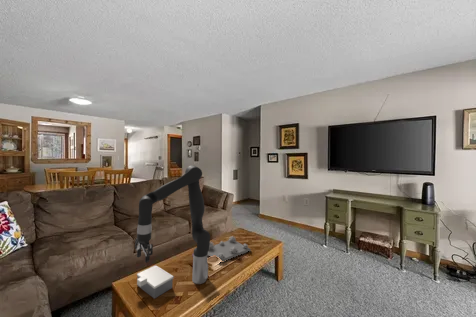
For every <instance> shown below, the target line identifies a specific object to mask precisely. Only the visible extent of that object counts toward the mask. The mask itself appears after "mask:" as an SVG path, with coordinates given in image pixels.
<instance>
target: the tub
mask: <svg viewBox="0 0 476 317" xmlns="http://www.w3.org/2000/svg"><path fill="white" fill-rule="evenodd" d="M137 279H139V277H138V276H137ZM173 280H174V278H173V279H171V280H169V281H167V282H166V283H164V284H162V285H160V286H159V287H157V288H155V289H154V288H153V287H151V286H150V285H149V284H145V285H143V286H141V287H140V286H139V285H137V284H136V285H137V287H139V288H140V289H141V290H142V291H143V292H145V293H146V294H147V295H149V296H150V297H152V298H153V299H154V300H155V299H157V298H158V297H159V296H161V295H163V294H164V293H167V292H168V291H169V290H171V289H172V288H173Z"/></svg>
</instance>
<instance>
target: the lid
mask: <svg viewBox="0 0 476 317" xmlns="http://www.w3.org/2000/svg"><path fill="white" fill-rule="evenodd" d="M136 276H137V279H136V285H139V286H140V287H141V286H143V285H145V284H149V285H150V286H151V287H153V288H154V289H155V288H157V287H159V286H160V285H162V284H164V283H166V282H167V281H169V280H171V279H173V280H174V275H172V274H171V273H169V272H167V271H166V270H164V269H163V268H161V267H160V266H157V265H156V264H155V265H153V266H151V267H148V268H147V269H144V270H143V271H139V272H137V273H136ZM138 277H139V279H138ZM139 286H138V287H139ZM140 287H139V288H140Z"/></svg>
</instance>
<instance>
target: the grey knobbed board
mask: <svg viewBox="0 0 476 317" xmlns="http://www.w3.org/2000/svg"><path fill="white" fill-rule="evenodd" d="M248 245H249V244H247V243H243V244H242V243H240V242H238V241H237V239H236V236H233V235H232V236H229V237H228V240H226V241H223V240H220V242H219V243H217V244H215V243H214V242H213V241H211V240H210V246H209V250H208V257H209V256H213V255H216V256H217V257H219V258H220V259H221V260H222V261H224V262H226V261H225V260H227V261H229V260H232V259H234V258H237V257H239V256H241V254H242V255H244V254H246V253H248V251H249V252H251V250H252V249H251V248H249V246H248ZM238 255H239V256H238ZM236 256H237V257H236ZM233 257H234V258H233ZM231 258H232V259H231ZM228 259H229V260H228Z"/></svg>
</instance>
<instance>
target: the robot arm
mask: <svg viewBox="0 0 476 317" xmlns="http://www.w3.org/2000/svg"><path fill="white" fill-rule="evenodd" d="M202 177H203V171H202V169H201V168H200V167H198V166H197V165H193V164H191V165H188V166H187V168H186V169H185V173H184V174H183V175H182V176H180V177H178V178H176V179H174V180H172V181H168V182H167V183H165V184H163V185H161V186H160V187H157V188H156V189H155V190H153V191H151V192H148V193H147V194H144V195H143V196H142V197H141V198H140V199H139V202H138V218H137V219H138V220H137V229H136V238H135V240H134V249H135V250H136V257H137V258H141V256H142V253H144V256H145V258H144V263H149V262H150V260H151V259H150V258H151V256H153V254H154V253H153V250H154V244H153V243H150V241H151V240H152V229H153V228H152V227H153V226H152V225H153V224H152V222H153V221H152V220H153V218H152V215H153V214H152V212H153V205H154V204H156V203H157V202H158V201H163V200H164V199H166V198H167V197H169V196H171V195H173V194H174V193H175V192H177V191H179V190H181V189H182V188H184V187H186V186H187V188H188V201H189V203H188V204H189V211H190V218H191V236H192V240H193V241H194V242H195V243H196V247H195V248H193V253H192V254H193V257H192V277H191V278H192V279H191V280H192V283H194V284H196V285H201V284H204V283H205V282H206V281H207V279H209V276H208V275H209V263H208V257H209V256H208V250H209V246H210V242H211V235H210V232H209V231H207V230H206V229H205V228H204V224H203V217H204V214H205V208H206V207H205V200H204V195H203V192H202V189H201V187H200V180H201V179H202Z"/></svg>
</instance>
